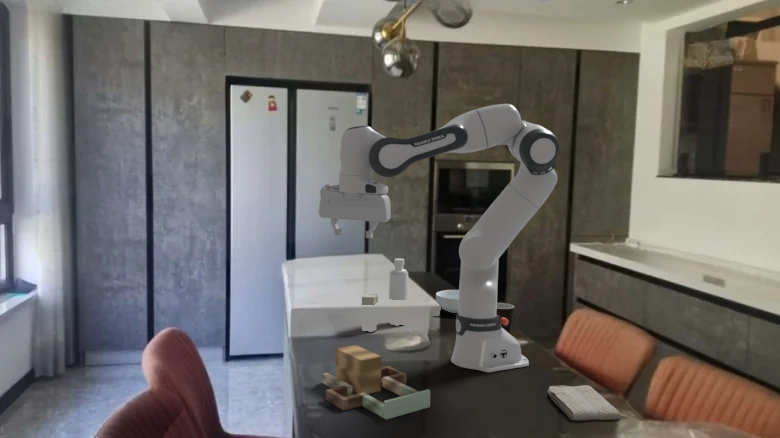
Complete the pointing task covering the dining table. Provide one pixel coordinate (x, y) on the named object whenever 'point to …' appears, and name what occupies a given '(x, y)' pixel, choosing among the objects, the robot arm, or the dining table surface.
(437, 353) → the dining table surface
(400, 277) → the white bottle
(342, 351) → the block
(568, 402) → the washcloth
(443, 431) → the dining table surface
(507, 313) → the coffee mug
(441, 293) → the cereal bowl
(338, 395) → the lane
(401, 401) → the end wall
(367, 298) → the skincare box
